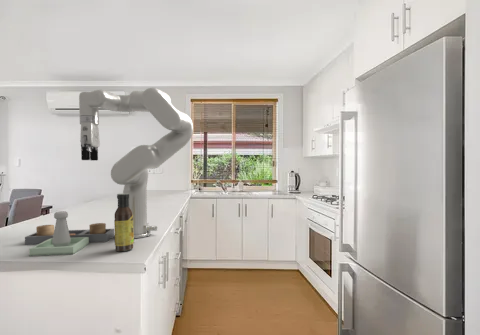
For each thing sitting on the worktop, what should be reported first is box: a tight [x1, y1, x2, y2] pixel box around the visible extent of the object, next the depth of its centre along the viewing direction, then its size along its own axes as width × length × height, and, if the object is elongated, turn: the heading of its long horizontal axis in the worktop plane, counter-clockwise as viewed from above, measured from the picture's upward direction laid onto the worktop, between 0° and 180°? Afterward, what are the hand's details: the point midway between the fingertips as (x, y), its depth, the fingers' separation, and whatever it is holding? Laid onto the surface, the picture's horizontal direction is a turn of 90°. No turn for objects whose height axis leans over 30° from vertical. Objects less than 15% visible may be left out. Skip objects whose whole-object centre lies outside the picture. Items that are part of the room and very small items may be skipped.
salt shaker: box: [52, 210, 71, 247], centre depth 111 cm, size 6×6×13 cm
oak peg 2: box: [89, 222, 107, 234], centre depth 125 cm, size 6×6×6 cm
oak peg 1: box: [35, 224, 55, 236], centre depth 123 cm, size 6×6×6 cm
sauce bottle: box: [113, 193, 135, 253], centre depth 109 cm, size 6×6×20 cm
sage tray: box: [28, 237, 90, 257], centre depth 111 cm, size 14×14×2 cm
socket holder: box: [24, 228, 115, 246], centre depth 124 cm, size 30×10×3 cm, turn 96°
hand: (90, 160), depth 134 cm, fingers open, 9 cm apart
